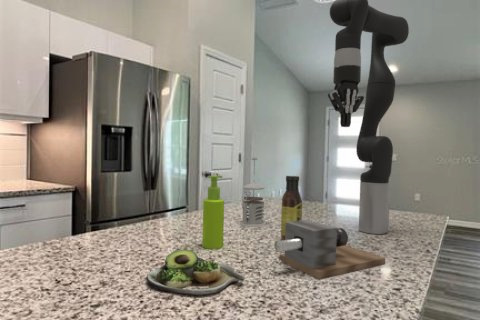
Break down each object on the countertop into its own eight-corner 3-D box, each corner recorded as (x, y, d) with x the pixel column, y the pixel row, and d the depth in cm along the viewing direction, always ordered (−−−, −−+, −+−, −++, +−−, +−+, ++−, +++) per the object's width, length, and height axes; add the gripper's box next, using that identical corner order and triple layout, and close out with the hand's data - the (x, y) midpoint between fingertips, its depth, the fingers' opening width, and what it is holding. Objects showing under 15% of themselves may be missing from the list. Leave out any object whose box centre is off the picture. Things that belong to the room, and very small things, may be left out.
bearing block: (341, 249, 97) (342, 214, 97) (385, 263, 85) (386, 223, 85) (279, 260, 86) (280, 220, 86) (319, 279, 74) (320, 232, 73)
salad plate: (257, 273, 77) (257, 253, 77) (224, 307, 60) (225, 281, 60) (182, 261, 84) (182, 243, 84) (134, 288, 68) (135, 265, 67)
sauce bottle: (300, 243, 102) (302, 176, 101) (279, 242, 103) (281, 176, 102) (301, 238, 108) (303, 175, 108) (281, 236, 109) (283, 174, 109)
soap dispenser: (227, 243, 100) (229, 175, 99) (218, 250, 93) (219, 176, 93) (209, 241, 102) (210, 174, 101) (198, 247, 95) (200, 175, 95)
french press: (270, 223, 129) (272, 157, 128) (255, 229, 119) (257, 157, 118) (248, 220, 134) (249, 156, 133) (231, 225, 124) (233, 156, 124)
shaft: (333, 244, 89) (334, 225, 89) (348, 249, 85) (349, 229, 85) (270, 254, 79) (271, 233, 79) (284, 260, 74) (284, 238, 74)
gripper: (352, 72, 106) (350, 128, 107) (321, 66, 99) (319, 126, 100) (373, 67, 100) (371, 127, 100) (340, 60, 93) (339, 125, 93)
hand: (345, 126), depth 100 cm, fingers closed
